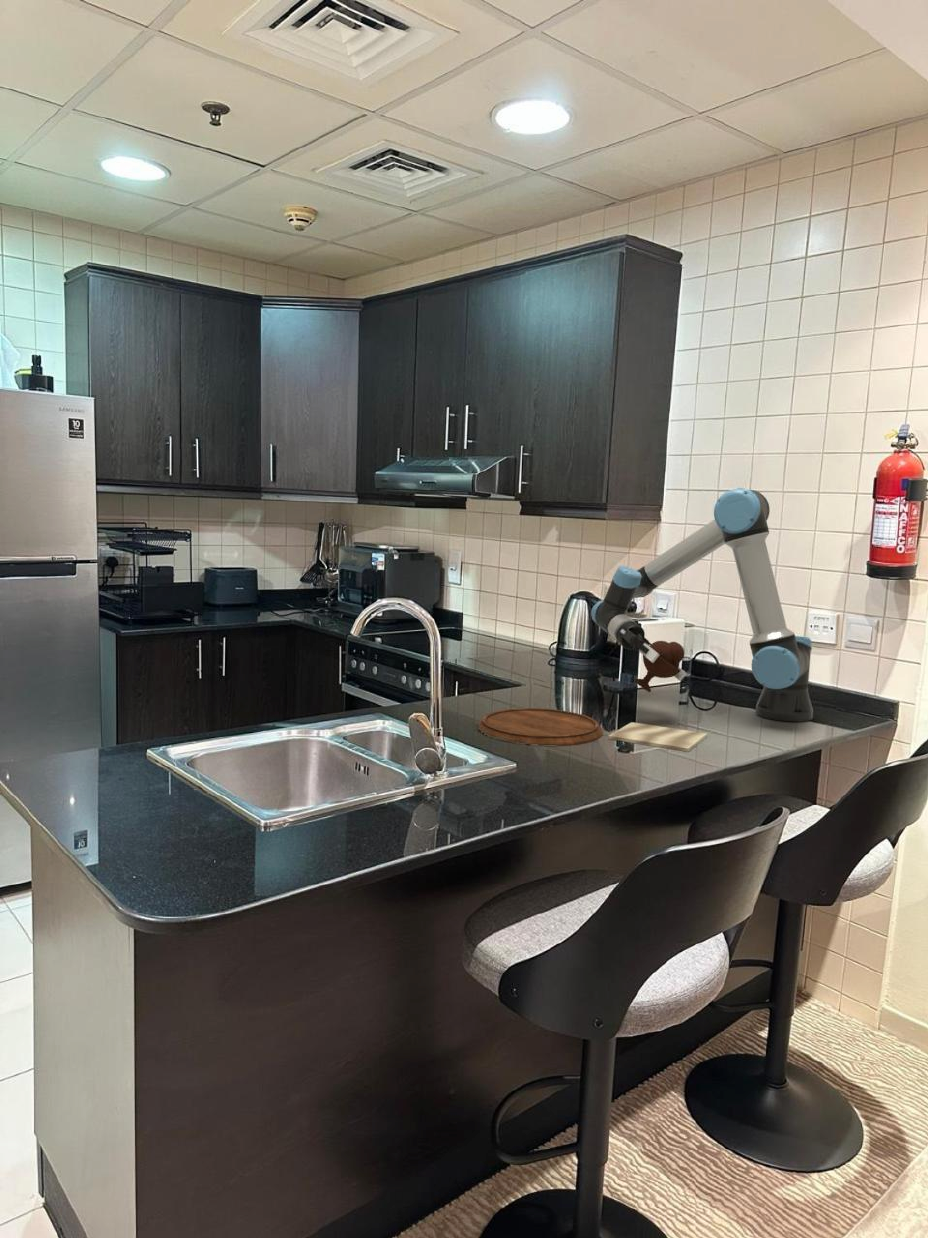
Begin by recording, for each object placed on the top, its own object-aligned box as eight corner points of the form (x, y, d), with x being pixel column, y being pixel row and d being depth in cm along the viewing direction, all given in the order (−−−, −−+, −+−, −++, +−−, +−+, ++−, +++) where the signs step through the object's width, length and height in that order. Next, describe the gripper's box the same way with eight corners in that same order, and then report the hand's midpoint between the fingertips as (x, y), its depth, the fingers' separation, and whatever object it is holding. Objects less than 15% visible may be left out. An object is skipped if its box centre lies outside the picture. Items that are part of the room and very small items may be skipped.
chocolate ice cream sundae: (652, 691, 239) (686, 648, 236) (662, 703, 228) (697, 657, 225) (622, 669, 237) (655, 625, 235) (630, 680, 226) (665, 634, 224)
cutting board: (552, 755, 200) (552, 745, 200) (451, 729, 222) (451, 720, 221) (627, 732, 224) (627, 722, 224) (529, 710, 245) (529, 701, 245)
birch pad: (707, 736, 220) (707, 733, 220) (688, 751, 205) (688, 748, 205) (631, 725, 230) (631, 722, 230) (608, 738, 215) (608, 735, 215)
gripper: (644, 660, 253) (687, 696, 235) (591, 624, 241) (632, 660, 222) (660, 639, 252) (704, 674, 234) (608, 603, 240) (650, 637, 221)
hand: (669, 667), depth 228 cm, fingers closed on chocolate ice cream sundae, 11 cm apart
